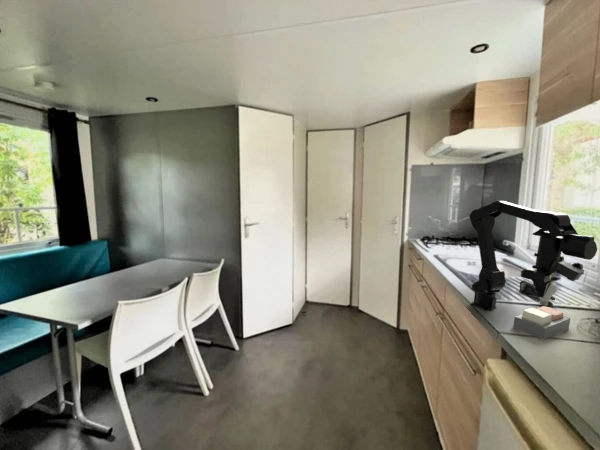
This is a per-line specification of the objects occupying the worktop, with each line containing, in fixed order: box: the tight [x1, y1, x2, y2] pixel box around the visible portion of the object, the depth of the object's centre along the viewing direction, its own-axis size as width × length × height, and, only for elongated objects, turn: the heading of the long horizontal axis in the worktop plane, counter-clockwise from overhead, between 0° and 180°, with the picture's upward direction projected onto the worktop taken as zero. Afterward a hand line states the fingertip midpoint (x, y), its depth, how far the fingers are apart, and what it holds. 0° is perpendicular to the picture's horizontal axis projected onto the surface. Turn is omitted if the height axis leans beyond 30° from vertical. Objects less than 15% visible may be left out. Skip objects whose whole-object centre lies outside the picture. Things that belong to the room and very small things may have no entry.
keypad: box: [512, 313, 571, 341], centre depth 96 cm, size 9×17×4 cm, turn 117°
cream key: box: [522, 307, 552, 326], centre depth 94 cm, size 6×6×4 cm
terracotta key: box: [535, 305, 565, 321], centre depth 98 cm, size 6×6×4 cm
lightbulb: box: [539, 282, 558, 307], centre depth 114 cm, size 6×6×11 cm
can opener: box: [519, 280, 556, 306], centre depth 124 cm, size 18×7×6 cm, turn 176°
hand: (541, 297), depth 93 cm, fingers closed
